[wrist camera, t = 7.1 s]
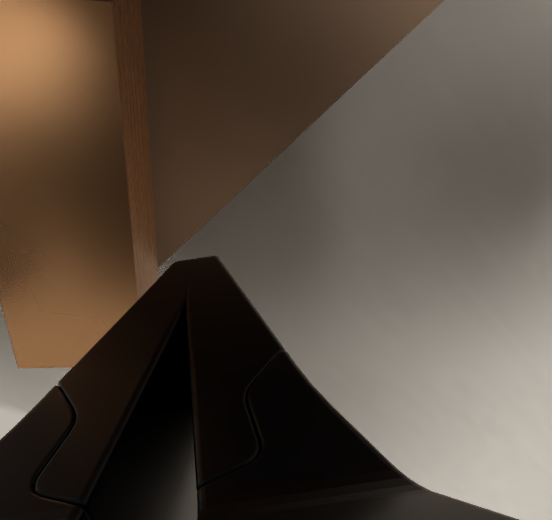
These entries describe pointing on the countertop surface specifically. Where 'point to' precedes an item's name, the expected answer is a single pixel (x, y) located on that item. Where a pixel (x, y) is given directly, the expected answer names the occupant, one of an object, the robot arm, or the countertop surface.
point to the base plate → (247, 89)
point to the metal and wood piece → (72, 174)
